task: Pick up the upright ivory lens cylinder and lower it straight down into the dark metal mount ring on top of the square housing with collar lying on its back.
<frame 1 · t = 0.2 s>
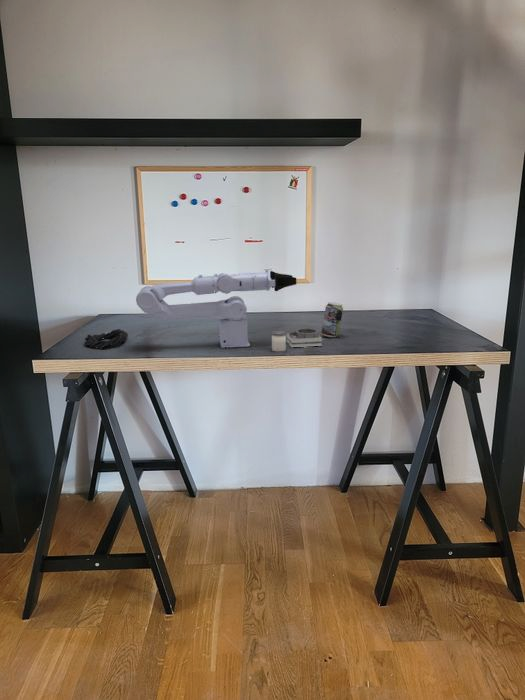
hand: (294, 279, 168), 21 cm above the table, tool horizontal, fingers open, 7 cm apart
beverage can: (331, 337, 181), on the table
square housing with collar: (303, 344, 171), on the table
cable: (106, 344, 176), on the table
lens: (278, 350, 164), on the table
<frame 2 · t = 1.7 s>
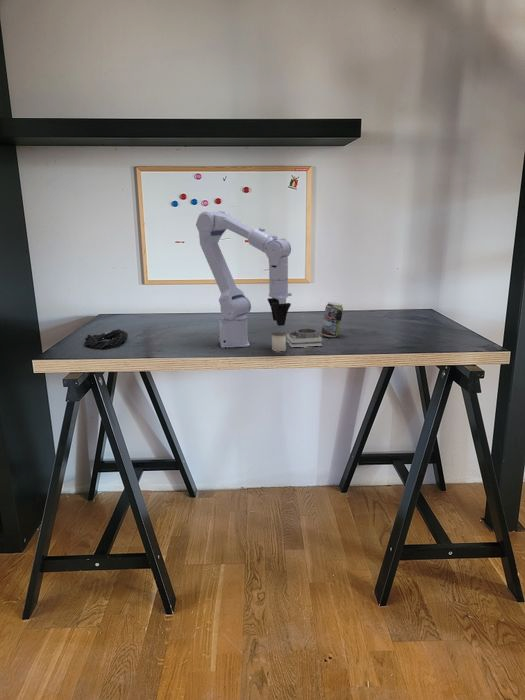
hand: (278, 322, 162), 9 cm above the table, tool pointing down, fingers open, 7 cm apart
nothing on the table moved.
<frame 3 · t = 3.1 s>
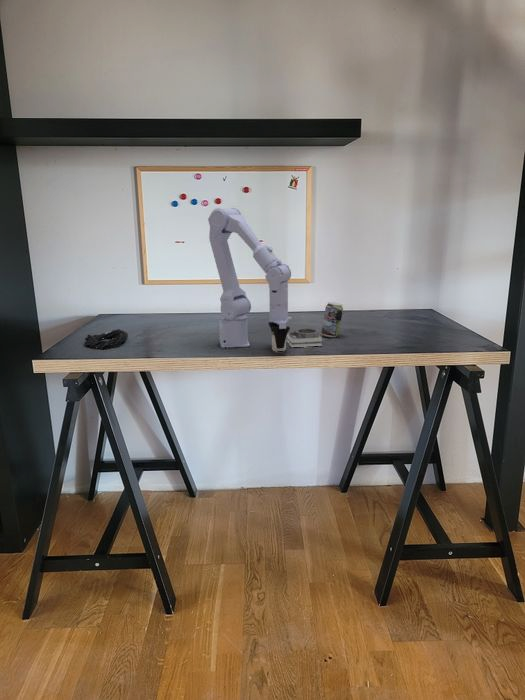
hand: (278, 346, 164), 1 cm above the table, tool pointing down, fingers closed on lens, 4 cm apart
lens: (278, 350, 164), on the table, touching gripper
everything else where it was.
when the fingers open (5 cm above the table, at t = 6.0 s): lens stays where it is, resting on square housing with collar.
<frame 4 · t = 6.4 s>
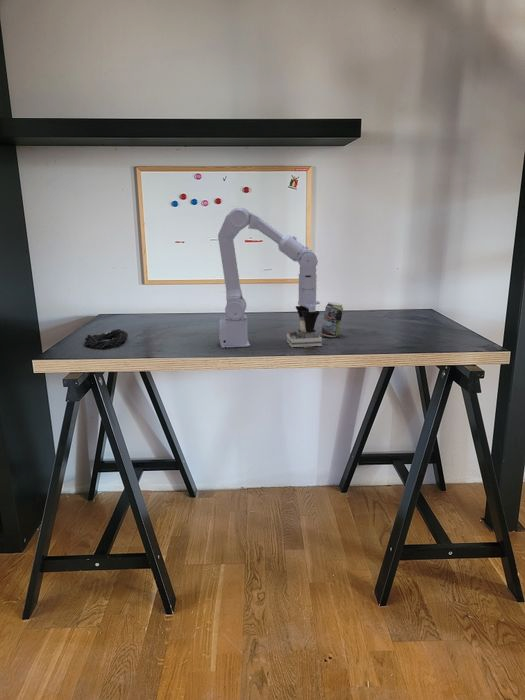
hand: (307, 329, 170), 5 cm above the table, tool pointing down, fingers open, 7 cm apart
lens: (306, 335, 170), point 3 cm above the table, touching square housing with collar
everything else where it was.
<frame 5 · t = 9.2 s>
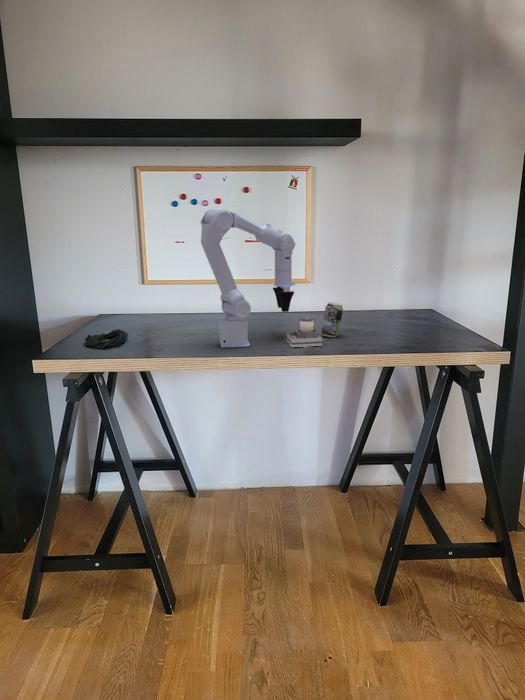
hand: (283, 309, 178), 10 cm above the table, tool pointing down, fingers open, 7 cm apart
nothing on the table moved.
at the end: lens 0.1 cm from the target spot on the square housing with collar, point 3.0 cm above the square housing with collar's base; lens tilted 1°; the gripper is holding nothing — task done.
